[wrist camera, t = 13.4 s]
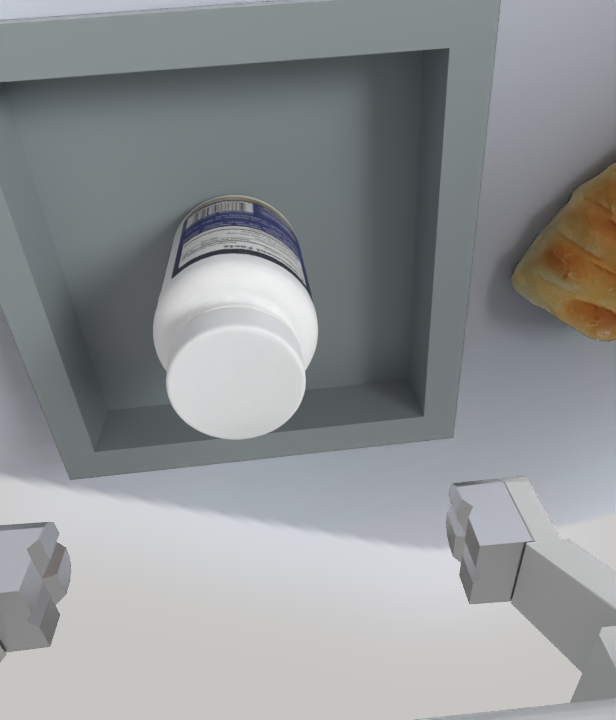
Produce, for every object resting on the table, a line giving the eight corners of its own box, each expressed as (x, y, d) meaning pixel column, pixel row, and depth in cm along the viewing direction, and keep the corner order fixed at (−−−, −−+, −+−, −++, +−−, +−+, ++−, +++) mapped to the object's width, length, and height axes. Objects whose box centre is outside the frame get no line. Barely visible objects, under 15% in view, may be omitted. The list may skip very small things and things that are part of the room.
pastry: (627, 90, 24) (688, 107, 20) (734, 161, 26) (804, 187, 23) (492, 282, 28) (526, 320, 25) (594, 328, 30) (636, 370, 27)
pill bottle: (261, 329, 26) (270, 481, 18) (151, 276, 25) (107, 421, 16) (324, 231, 24) (366, 356, 16) (208, 165, 22) (190, 269, 14)
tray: (460, -13, 21) (502, -12, 17) (430, 388, 31) (453, 437, 27) (-51, 23, 20) (-110, 31, 16) (89, 424, 30) (70, 479, 26)
